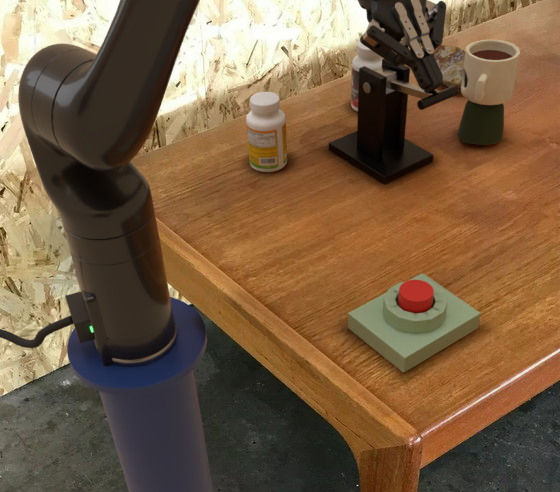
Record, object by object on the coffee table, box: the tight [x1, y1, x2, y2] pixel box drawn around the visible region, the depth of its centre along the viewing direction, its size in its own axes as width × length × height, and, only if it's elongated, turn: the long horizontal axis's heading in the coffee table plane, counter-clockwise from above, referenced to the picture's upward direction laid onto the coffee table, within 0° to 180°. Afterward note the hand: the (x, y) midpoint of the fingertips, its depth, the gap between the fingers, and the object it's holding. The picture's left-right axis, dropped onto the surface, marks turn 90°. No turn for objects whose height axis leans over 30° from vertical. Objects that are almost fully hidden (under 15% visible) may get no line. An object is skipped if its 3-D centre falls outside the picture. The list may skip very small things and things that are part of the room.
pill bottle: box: [350, 40, 384, 113], centre depth 119 cm, size 5×5×10 cm
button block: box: [347, 272, 482, 373], centre depth 85 cm, size 11×9×4 cm
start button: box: [398, 279, 434, 313], centre depth 84 cm, size 4×4×2 cm
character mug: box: [457, 39, 521, 146], centre depth 110 cm, size 11×7×13 cm, turn 156°
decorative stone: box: [434, 44, 466, 89], centre depth 127 cm, size 10×4×15 cm
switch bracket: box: [328, 59, 434, 185], centre depth 108 cm, size 12×9×13 cm
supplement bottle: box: [245, 91, 288, 173], centre depth 109 cm, size 5×5×10 cm
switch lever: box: [375, 68, 460, 111], centre depth 101 cm, size 12×6×2 cm, turn 37°
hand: (434, 88), depth 98 cm, fingers closed
